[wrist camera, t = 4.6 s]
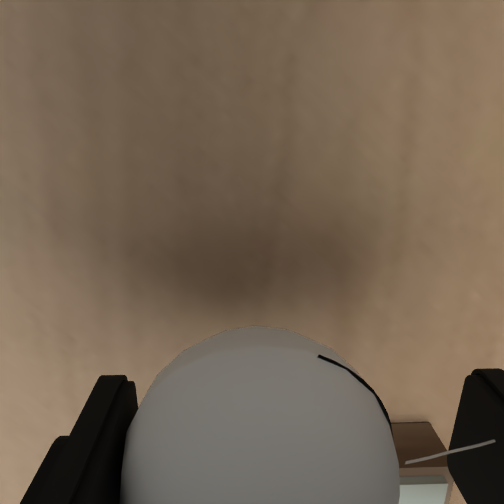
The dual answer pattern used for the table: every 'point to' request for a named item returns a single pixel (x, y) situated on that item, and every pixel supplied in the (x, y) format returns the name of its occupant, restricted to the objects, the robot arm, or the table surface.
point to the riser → (421, 465)
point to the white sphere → (261, 428)
